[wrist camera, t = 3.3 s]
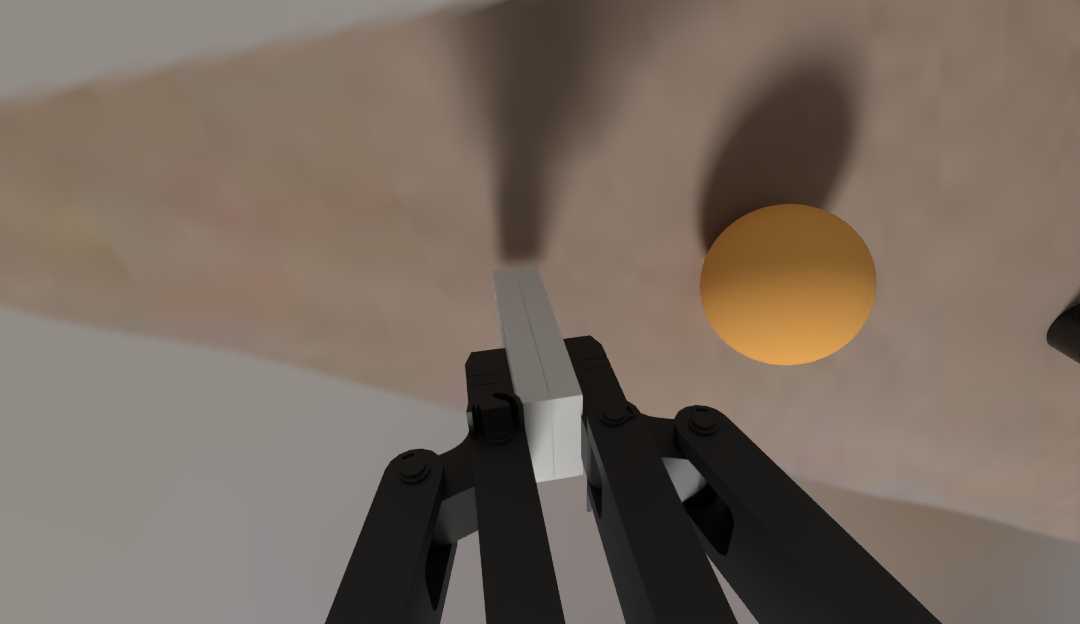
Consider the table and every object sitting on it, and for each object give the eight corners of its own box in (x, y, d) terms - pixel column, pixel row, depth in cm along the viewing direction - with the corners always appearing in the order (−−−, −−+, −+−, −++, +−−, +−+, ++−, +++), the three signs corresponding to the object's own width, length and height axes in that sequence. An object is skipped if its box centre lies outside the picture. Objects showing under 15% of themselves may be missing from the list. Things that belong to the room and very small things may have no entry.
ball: (827, 174, 20) (945, 236, 16) (796, 301, 23) (887, 386, 18) (683, 189, 19) (762, 258, 15) (670, 318, 22) (732, 410, 18)
